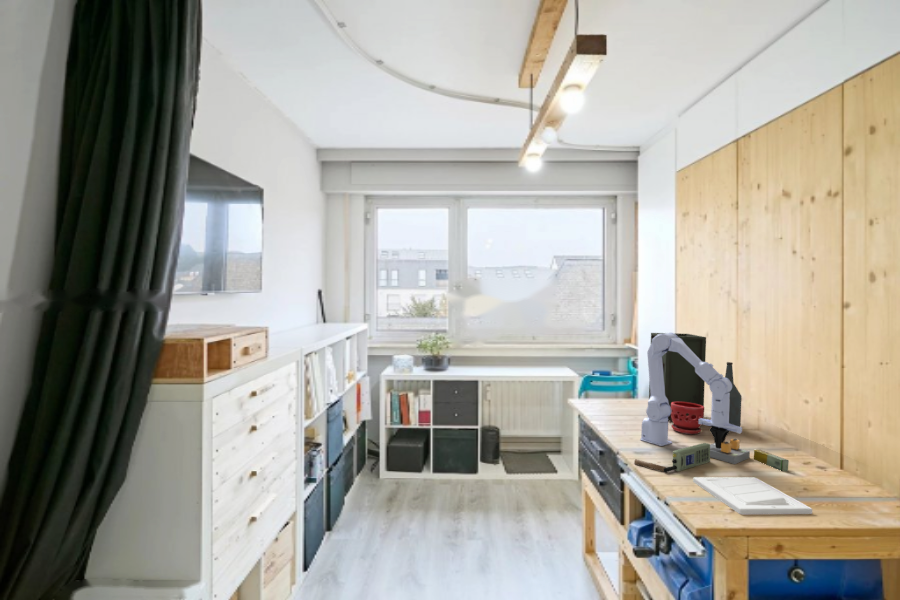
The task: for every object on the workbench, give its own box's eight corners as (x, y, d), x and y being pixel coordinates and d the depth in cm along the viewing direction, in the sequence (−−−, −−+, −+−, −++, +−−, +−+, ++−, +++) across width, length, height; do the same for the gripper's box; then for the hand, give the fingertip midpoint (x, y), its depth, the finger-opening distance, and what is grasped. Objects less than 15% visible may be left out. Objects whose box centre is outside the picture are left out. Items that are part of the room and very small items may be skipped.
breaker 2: (729, 447, 180) (730, 438, 180) (732, 446, 182) (733, 437, 182) (736, 449, 179) (736, 440, 178) (739, 448, 180) (739, 439, 180)
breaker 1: (721, 451, 176) (721, 441, 176) (724, 450, 178) (724, 440, 178) (727, 453, 174) (728, 443, 174) (731, 451, 176) (731, 442, 176)
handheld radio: (711, 463, 173) (669, 475, 159) (702, 460, 176) (660, 472, 162) (711, 444, 173) (669, 455, 160) (702, 442, 176) (660, 452, 162)
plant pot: (705, 437, 203) (706, 409, 203) (670, 433, 208) (671, 405, 208) (701, 429, 215) (702, 402, 215) (669, 425, 220) (670, 399, 220)
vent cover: (813, 503, 133) (740, 503, 132) (812, 515, 133) (740, 516, 132) (755, 472, 156) (692, 472, 154) (755, 482, 156) (692, 482, 154)
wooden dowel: (636, 462, 170) (634, 465, 169) (636, 458, 170) (634, 461, 168) (666, 470, 163) (664, 473, 162) (665, 465, 163) (663, 468, 162)
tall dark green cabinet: (703, 421, 228) (706, 337, 228) (663, 420, 229) (666, 336, 228) (684, 412, 247) (687, 333, 246) (648, 411, 247) (650, 332, 246)
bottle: (731, 426, 222) (734, 360, 221) (745, 432, 212) (748, 364, 212) (709, 425, 222) (712, 360, 221) (722, 432, 212) (724, 363, 211)
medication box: (788, 471, 166) (789, 460, 166) (782, 472, 165) (783, 460, 165) (758, 459, 178) (759, 448, 178) (752, 460, 177) (753, 449, 177)
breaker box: (700, 454, 181) (700, 447, 181) (715, 448, 188) (716, 442, 188) (734, 464, 171) (734, 456, 171) (749, 458, 178) (749, 450, 178)
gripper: (746, 413, 174) (745, 451, 175) (705, 405, 186) (704, 440, 186) (737, 416, 170) (736, 455, 170) (696, 407, 182) (695, 443, 182)
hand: (718, 447), depth 178 cm, fingers closed
